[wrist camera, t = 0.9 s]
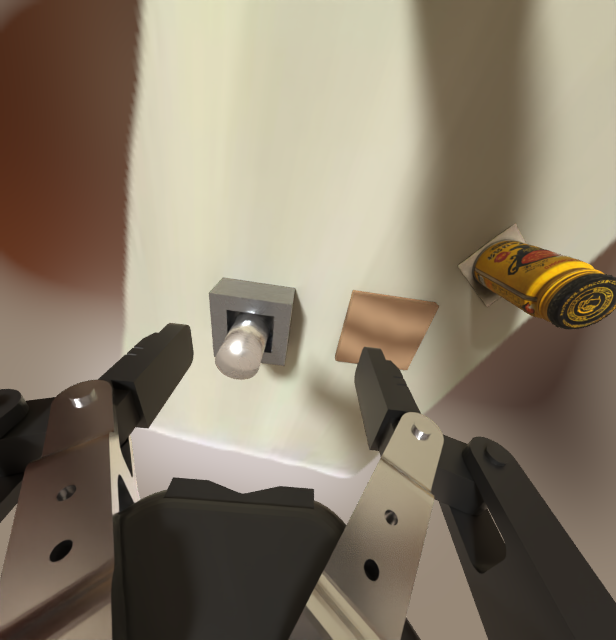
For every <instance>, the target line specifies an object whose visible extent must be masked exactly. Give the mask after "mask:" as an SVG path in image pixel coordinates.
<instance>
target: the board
mask: <svg viewBox="0 0 616 640" xmlns="http://www.w3.org/2000/svg"><path fill="white" fill-rule="evenodd" d="M438 308H439V306H438V305H437V304H436V303H435V302H429V301H422V300H416V299H409V298H402V297H396V296H389V295H382V294H376V293H369V292H362V291H356V290H353V291H352V295H351V299H350V302H349V306H348V310H347V313H346V317H345V321H344V325H343V328H342V332H341V336H340V339H339V343H338V347H337V350H336V354H335V360H336V361H343V362H350V363H358V362H359V359H360V355H361V352H362V349H363V348H364V347H372V348H380V349H381V350H382V352H383V354H384V356H385V359H386V360H391V361H392V362H393V363H394V364H395V365H396V366H397V367H398V368H399V369H403V370H407V369H408V367H409V365H410V363H411V361H412V359H413V357H414V355H415V353H416V351H417V349H418V347H419V345H420V343H421V341H422V339H423V337H424V335H425V333H426V331H427V330H428V328H429V326H430V324H431V322H432V320H433V318H434V316H435V314H436V312H437V310H438Z"/></svg>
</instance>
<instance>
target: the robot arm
mask: <svg viewBox="0 0 616 640" xmlns="http://www.w3.org/2000/svg"><path fill="white" fill-rule="evenodd" d="M192 361H193V345H192V337H191V330H190V327H189V325H183V324H175V323H169V324H167V325H166V326H165V327H164V328H163V329H162V330H161V331H160V332H159V333H153V334H151V335H149V336H147V337H145V338H143V339H142V340H141V341H140V342H139V343H138V344H137V345H135V346H134V348H132V349H131V350H130V351H129V352H128V353H127V355H124V356H123V357H122V358H121V359H120V360H119V361H118V362H117V363H116V364H115V365H113V366H112V367H111V368H110V369H109V370H108V371H107V372H106V373H105V374H104V375H102V376H101V377H100V378H99V379H98V380H88V381H84V382H80V383H77V384H75V385H73V386H70V387H69V388H67V389H65V390H64V391H62V392H61V393H59V394H58V395H57V396H56V397H53V398H45V399H37V400H29V401H25V400H24V398H23V397H22V395H21V394H20V392H19V391H17V390H13V389H1V390H0V522H1V521H2V520H3V519H4V518H5V517H6V515H7V514H8V513H9V512H10V511H11V510H12V509H13V507H14V506H15V505H16V504H17V507H16V512H15V516H14V520H13V525H12V529H11V534H10V538H9V542H8V547H7V551H6V556H5V560H4V564H3V569H2V573H1V577H0V640H421V639H420V638H419V636H418V635H417V633H416V632H415V630H414V629H413V627H412V625H411V624H410V622H409V621H408V620H407V618H406V615H407V611H408V607H409V603H410V599H411V594H412V590H413V586H414V582H415V578H416V574H417V570H418V566H419V561H420V558H421V553H422V549H423V545H424V541H425V537H426V533H427V529H428V525H429V521H430V516H431V512H432V508H433V504H434V499H435V500H438V501H439V503H440V506H441V509H442V512H443V515H444V517H445V520H446V523H447V526H448V529H449V531H450V534H451V537H452V540H453V543H454V545H455V548H456V551H457V554H458V556H459V559H460V562H461V565H462V567H463V570H464V573H465V576H466V579H467V582H468V584H469V587H470V590H471V592H472V596H473V598H474V601H475V604H476V607H477V609H478V612H479V615H480V618H481V620H482V623H483V626H484V629H485V632H486V635H487V637H488V640H616V603H615V601H614V600H613V598H612V597H611V595H610V594H609V593H608V591H607V590H606V589H605V587H604V585H603V584H602V582H601V581H600V580H599V578H598V577H597V576H596V574H595V573H594V571H593V570H592V569H591V567H590V565H589V564H588V563H587V561H586V560H585V558H584V557H583V555H582V554H581V552H580V551H579V550H578V548H577V547H576V545H575V544H574V542H573V541H572V540H571V538H570V537H569V535H568V534H567V533H566V531H565V530H564V528H563V527H562V525H561V524H560V522H559V521H558V519H557V518H556V517H555V515H554V514H553V513H552V511H551V509H550V508H549V507H548V505H547V504H546V502H545V501H544V499H543V498H542V497H541V495H540V494H539V492H538V491H537V489H536V488H535V487H534V485H533V484H532V482H531V481H530V479H529V478H528V477H527V475H526V474H525V472H524V471H523V470H522V468H521V467H520V465H519V464H518V462H517V461H516V460H515V458H514V457H513V456H512V455H511V454H510V453H509V452H508V451H507V450H506V449H505V448H503V447H502V446H501V445H499V444H498V443H496V442H494V441H492V440H490V439H488V438H484V437H475V438H473V439H472V440H471V441H470V442H469V443H468V444H466V443H463V442H461V441H458V440H456V439H453V438H450V437H448V436H445V435H443V434H442V432H441V430H440V429H439V427H438V426H437V425H436V424H435V423H434V422H433V421H432V420H431V419H429V418H428V417H426V416H424V415H422V414H421V413H420V411H419V409H418V407H417V405H416V403H415V401H414V399H413V396H412V394H411V392H410V390H409V388H408V387H407V384H406V382H405V380H404V379H403V376H402V374H401V372H400V370H399V368H398V367H397V366H396V365H395V364H394V363H393V362H392V361H391V360H386V359H385V356H384V354H383V352H382V350H381V349H380V348H372V347H364V348H363V349H362V352H361V355H360V359H359V362H358V365H357V368H356V372H355V387H356V392H357V396H358V401H359V405H360V409H361V414H362V418H363V423H364V427H365V432H366V436H367V441H368V445H369V450H376V451H379V452H380V455H381V459H380V461H379V463H378V465H377V467H376V469H375V470H374V472H373V474H372V476H371V478H370V480H369V482H368V484H367V486H366V488H365V490H364V492H363V494H362V496H361V498H360V500H359V502H358V504H357V506H356V508H355V510H354V512H353V514H352V516H351V518H350V520H349V522H348V523H347V525H346V524H345V523H344V522H343V521H342V520H341V519H340V518H339V517H338V516H337V515H336V514H335V513H334V512H333V511H331V510H330V509H329V508H328V507H326V506H324V505H322V504H321V503H319V502H317V501H314V489H308V488H294V487H283V486H279V487H274V488H269V489H265V490H260V491H255V492H250V493H245V494H241V493H238V492H236V491H233V490H231V489H228V488H226V487H223V486H221V485H219V484H216V483H214V482H211V481H209V480H197V479H185V478H173V479H172V481H171V483H170V485H169V487H168V489H167V490H163V491H160V492H157V493H154V494H152V495H149V496H147V497H145V498H143V499H140V495H139V491H138V487H137V482H136V474H135V465H134V457H133V449H132V441H131V436H130V434H131V433H132V431H133V430H134V428H135V427H140V428H149V427H150V425H151V424H152V422H153V421H154V419H155V418H156V416H157V415H158V413H159V412H160V410H161V409H162V407H163V406H164V404H165V403H166V401H167V400H168V398H169V397H170V395H171V394H172V392H173V391H174V389H175V388H176V386H177V385H178V383H179V382H180V381H181V379H182V378H183V376H184V375H185V373H186V372H187V370H188V369H189V367H190V366H191V363H192ZM487 508H488V509H489V511H490V513H491V515H492V517H493V519H494V521H495V523H496V525H497V527H498V529H499V531H500V533H501V535H502V537H503V539H504V541H503V539H502V537H501V535H500V533H499V531H498V529H497V527H496V525H495V523H494V521H493V519H492V517H491V515H490V513H489V511H488V509H487ZM504 542H505V543H504Z"/></svg>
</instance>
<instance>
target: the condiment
mask: <svg viewBox="0 0 616 640" xmlns="http://www.w3.org/2000/svg"><path fill="white" fill-rule="evenodd" d="M458 267H459V269H460V270H461V272H462V273H463V275H464V276H465V277H466V279H467V280H468V282H469V283H470V284H471V286H472V287H473V288H474V290H475V291H476V292H477V294H478V295H479V297H480V298H481V299H482V301H483V302H484V303H485V305H486V306H487V307H488V306H489V305H491V304H492V303H493V302H495V301H496V300H498V299H499V298H501V297H503V298H504V299H506V300H507V301H509V302H511V303H512V304H514V305H515V306H517V307H518V308H520V309H521V310H523V311H524V312H526V313H527V314H529V315H531V316H534V317H538V318H543V319H545V320H547V321H549V322H551V323H552V324H554V325H556V327H560V328H564V329H579V328H584V327H588V326H590V325H592V324H595V323H597V322H599V321H601V320H602V319H603V318H605V317H607V316H608V315H609V314H611V313H612V311H614V310H615V309H616V278H615V277H613V276H612V275H607V274H604V273H602V272H601V271H598V270H594V268H593V267H592V266H591V265H589V264H587V263H585V262H583V261H580V260H577V259H573V258H571V257H567V256H564V255H561V254H557V253H554V252H551V251H549V250H544V249H542V248H539V247H535V246H532V245H528V244H526V242H525V240H524V238H523V237H522V235H521V233H520V231H519V229H518V227H517V225H516V223H515V224H514V225H512V226H511V227H510V228H508V229H507V230H505V231H504V232H503V233H501V234H500V235H498V236H497V237H495V238H494V239H493V240H491V241H490V242H488V243H487V244H486V245H484V246H483V247H482V248H480V249H479V250H478V251H476V252H475V253H474V254H473V255H471V256H470V257H469V258H468V259H466V260H465V261H463V262H462V263H461V264H459V265H458Z"/></svg>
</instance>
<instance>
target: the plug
mask: <svg viewBox="0 0 616 640" xmlns="http://www.w3.org/2000/svg"><path fill="white" fill-rule="evenodd" d="M272 322H273V316H267V315H260V314H253V313H246V312H240V313H239V315H238V317H237V318H236V320H235V322H234V324H233V326H232V327H231V329H230V331H229V333H228V335H227V336H226V338H225V340H224V342H223V344H222V345H221V347H220V349H219V351H218V353H217V354H216V357H215V363H216V366H217V368H218V369H219V370H220V371H221V372H222V373H223V374H224V375H226V376H228V377H230V378H233V379H240V380H241V379H248V378H251V377H253V376H254V375H255V374H256V373H257V372H258V370H259V366H260V363H261V360H262V356H263V353H264V349H265V346H266V342H267V339H268V336H269V332H270V329H271V325H272Z"/></svg>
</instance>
